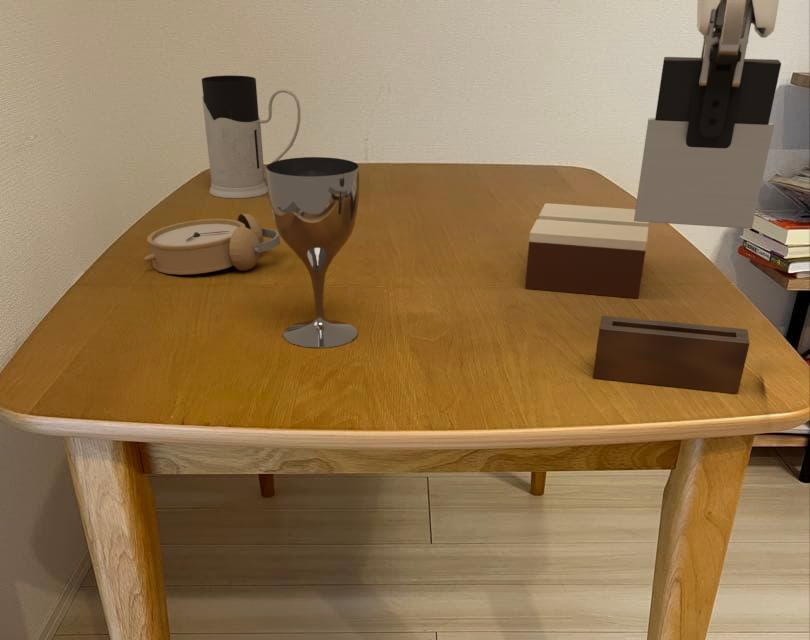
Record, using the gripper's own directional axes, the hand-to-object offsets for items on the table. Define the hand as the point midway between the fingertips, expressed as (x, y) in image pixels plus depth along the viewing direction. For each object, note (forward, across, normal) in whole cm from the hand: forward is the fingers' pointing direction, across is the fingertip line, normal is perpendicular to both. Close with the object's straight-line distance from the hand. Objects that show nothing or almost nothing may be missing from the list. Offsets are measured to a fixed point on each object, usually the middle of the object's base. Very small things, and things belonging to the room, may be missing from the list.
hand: (707, 141), depth 66 cm
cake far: (+19, +30, +9) cm, 36 cm away
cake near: (+19, +22, +9) cm, 31 cm away
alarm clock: (+18, +19, +51) cm, 58 cm away
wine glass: (+19, +1, +32) cm, 37 cm away
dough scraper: (+6, 0, 0) cm, 6 cm away
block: (+19, -1, 0) cm, 19 cm away
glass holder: (+18, +53, +60) cm, 82 cm away
